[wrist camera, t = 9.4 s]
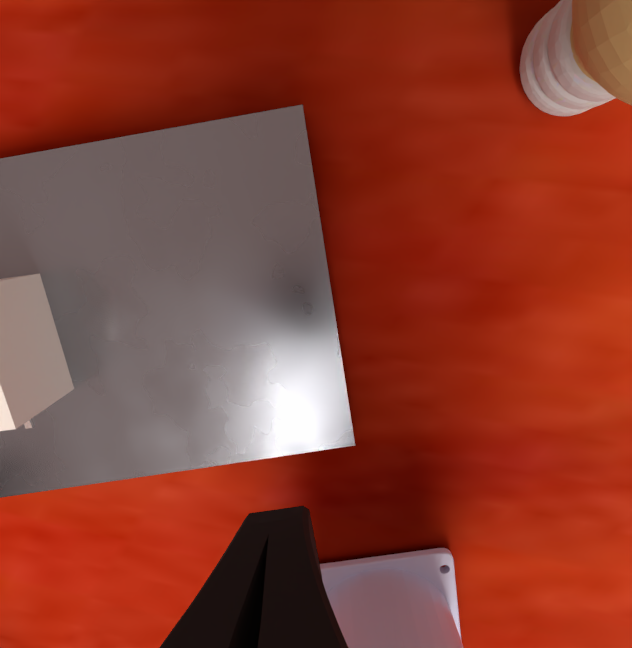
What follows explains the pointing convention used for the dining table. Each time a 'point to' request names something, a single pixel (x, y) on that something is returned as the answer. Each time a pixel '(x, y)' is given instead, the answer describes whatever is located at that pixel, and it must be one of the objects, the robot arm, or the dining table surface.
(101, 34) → the dining table surface
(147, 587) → the dining table surface
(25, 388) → the knob
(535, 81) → the light bulb
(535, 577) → the dining table surface
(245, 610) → the robot arm
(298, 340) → the panel
